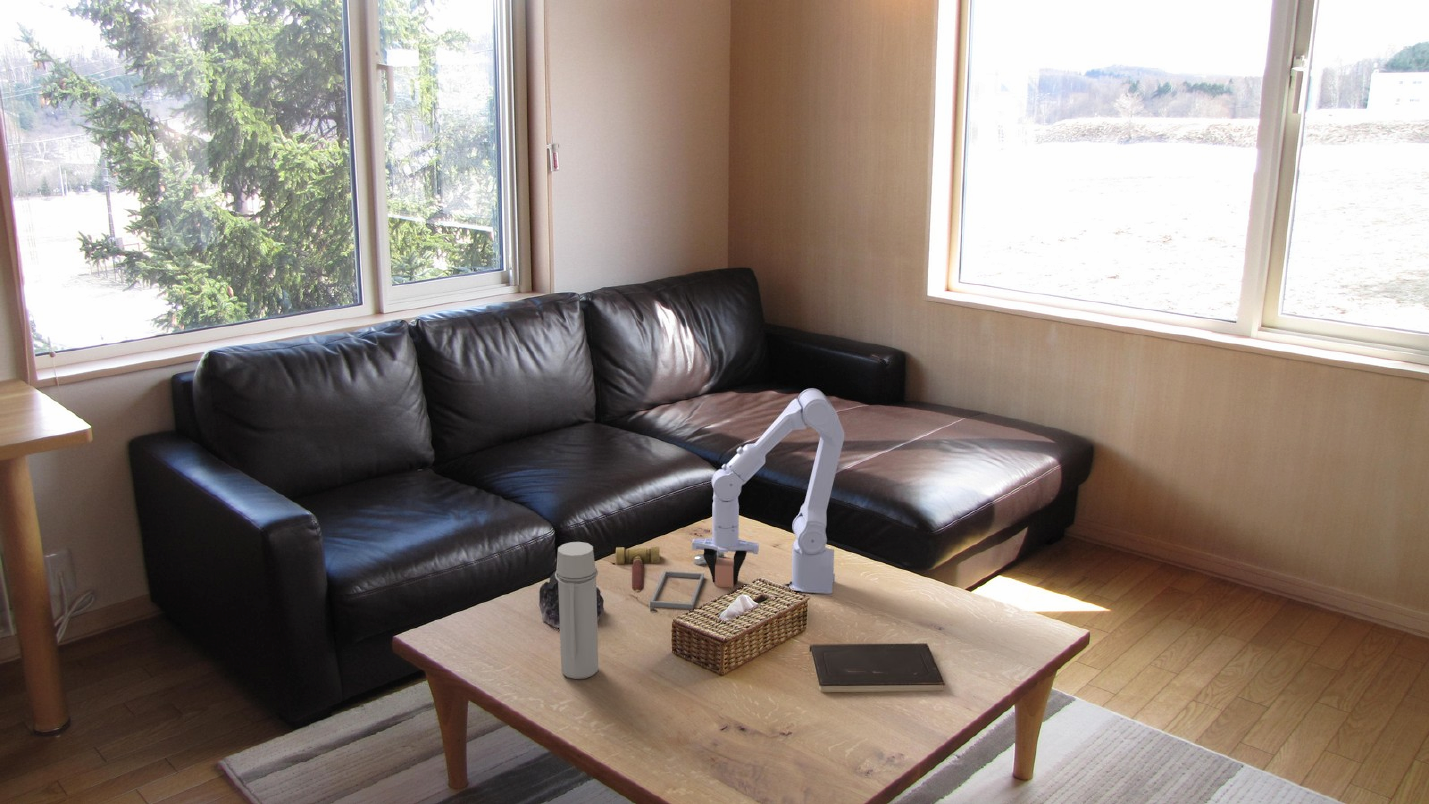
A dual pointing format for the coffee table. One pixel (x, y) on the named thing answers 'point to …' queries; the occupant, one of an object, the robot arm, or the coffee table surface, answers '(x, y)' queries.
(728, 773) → the coffee table surface
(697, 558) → the crank
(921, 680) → the hardcover book
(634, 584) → the gavel
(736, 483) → the robot arm
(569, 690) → the coffee table surface
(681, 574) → the rectangular frame
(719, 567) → the block
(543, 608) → the crystal cluster
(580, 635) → the water bottle
